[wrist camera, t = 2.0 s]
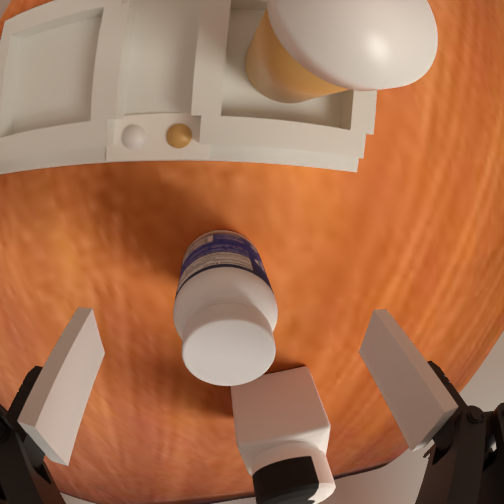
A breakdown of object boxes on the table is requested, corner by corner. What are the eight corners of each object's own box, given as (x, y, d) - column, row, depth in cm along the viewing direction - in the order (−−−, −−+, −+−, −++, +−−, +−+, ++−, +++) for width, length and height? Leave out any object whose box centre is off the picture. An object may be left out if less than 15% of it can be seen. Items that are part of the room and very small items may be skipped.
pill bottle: (260, 295, 21) (287, 389, 13) (187, 300, 21) (178, 398, 12) (259, 224, 19) (294, 299, 11) (178, 230, 18) (154, 309, 10)
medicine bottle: (241, 419, 27) (256, 520, 16) (229, 378, 24) (243, 502, 13) (307, 407, 28) (339, 503, 17) (308, 363, 25) (351, 479, 14)
